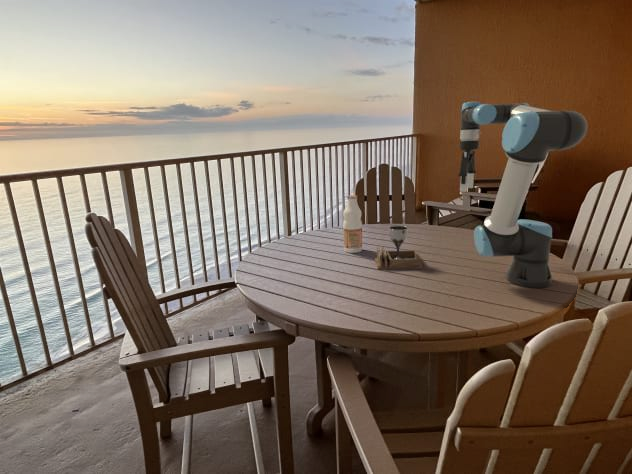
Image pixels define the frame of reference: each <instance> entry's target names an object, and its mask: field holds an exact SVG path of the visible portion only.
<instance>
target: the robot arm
mask: <svg viewBox="0 0 632 474" xmlns="http://www.w3.org/2000/svg"><path fill="white" fill-rule="evenodd" d="M460 117H461V118H460V119H461V120H460V136H459V140H460V141H459V150H460V151H464V152H462V154H461V161H460V162H461V163H460V170H459V173H458V177H460V178H459V180H460V181H459V192H461V193H462V192H463V193H465V192H466V193H467V191H468V189H473V188H474V179H475V178H474V176H475V174H476V173H477V171H476V160H475V156H476V155H475V154H476V152H475V150H478V149H479V143H480V141H479V138H480V135H481V134H482V132H481V131H480V127H481V126H483V125H484V126H485V125H499V124H500V125H504V124H505V125H504V128H503V131H502V135H501V139H502V140H501V146H502V148H503V150H504V151H505V152H504V154H505V155H506V157H507V158H508V160H507V161H506V165H505V166H506V167H505V168H504V172H503V175H502V179H501V181H500V185H499V188H498V191H497V193H496V196H495V197H496V198H495V201H494V205H493V208H492V210H491V213H490V215H488V216H487V217H486V218H485V219H484V221H483V225H478V226H476V227H475V228H474V230H473V231H474V232H473V241H474V245H475V249H476V251H477V252H478V254H479V255H480V256H482V257H485V258H486V257H489V258H490V257H491V258H494V257H509V256H510V257H513V258H512V261H511V263H510V265H509V267H508V269H507V271H506V277H505V278H506V280H507V281H508V282H510V283H512V284H514V285H516V286H521V287H525V288H535V289H536V288H537V289H538V288H547V287H550V286H551V285H552V281H553V280H552V279H553V278H552V273H551V268H550V265H549V260H550V251H551V243H552V239H553V228H552V226H551V225H550V223H549V224H548V223H546V222H542V221H538V220H533V219H525V218H524V219H521V218H520V219H518V218H519V217H520V213H521V211H522V207H523V206H524V202H525V200H526V197H527V195H528V192H529V189H530V187H531V183H532V181H533V178H534V175H535V173H536V170H537V167H538V165H539V164H541V163H543V162H545V161H546V160H547V159H546V158H547V156H548V154H549V152H553V151H554V152H555V151H557V152H558V151H564V150H569V149H570V148H573V147H575V146H577V145H578V144H579V143H580V142H582V140H583V139H584V138H585V136H586V134H587V132H588V121H587V119H586V117H585V116H584V115H583V114H581V113H580V112H578V111H575V110H548V109H543V108H539V107H533V106H530V104H529V103H523V102H517V103H500V104H499V103H498V104H497V103H496V104H495V103H494V104H493V103H492V104H490V103H482V102H481V101H467V102H464V103H463V104H462V106H461V115H460Z"/></svg>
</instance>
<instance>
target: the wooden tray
mask: <svg viewBox="0 0 632 474" xmlns="http://www.w3.org/2000/svg"><path fill="white" fill-rule="evenodd" d="M394 257H397V250H385V247H383V246H382V247H381V250H380V247H376V257H374V261H375V264H376V267H377V270H408V269H409V270H411V269H412V270H413V269H416V270H417V269H419V270H420V269H423V258H422V257H421V256H420V254H419V253H418V252H417V250H415V249H413V250H410V249H409V250H399V257H401V258H404V259H396V260H392V259H391V258H394Z"/></svg>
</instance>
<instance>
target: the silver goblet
mask: <svg viewBox="0 0 632 474" xmlns="http://www.w3.org/2000/svg"><path fill="white" fill-rule="evenodd" d="M388 229H389V230H388V231H389V232H388V233H389V238H390V241H391V242H392V243H393V245H394V246H395V248H396V251H397V257H394V258H391V259H392V260H396V259H404V258H401V257H399V251H400V248H401V247H402V245H403V244H404V242H406V240H407V237H408V227H407V226H405V225H392V226H389V227H388Z"/></svg>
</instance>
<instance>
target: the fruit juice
mask: <svg viewBox="0 0 632 474" xmlns="http://www.w3.org/2000/svg"><path fill="white" fill-rule="evenodd" d="M346 199H347V203H346V206H345V208H344V209H343V212H342V213H343V214H342V216H343V223H342V233H343V237H342V239H343V250H344V252H346V253H348V254H349V253H350V254H353V253H360V252H362V251H363V222H362V219H361V218H362V214H363V213H362V210H361V209H360V206H359V205H358V195H356V194H351V195H350V194H349V195H347V197H346Z"/></svg>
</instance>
